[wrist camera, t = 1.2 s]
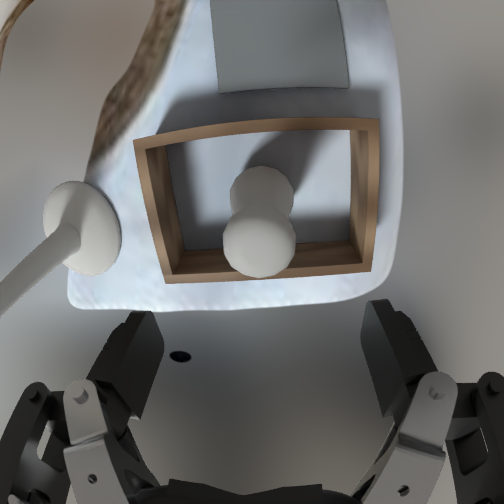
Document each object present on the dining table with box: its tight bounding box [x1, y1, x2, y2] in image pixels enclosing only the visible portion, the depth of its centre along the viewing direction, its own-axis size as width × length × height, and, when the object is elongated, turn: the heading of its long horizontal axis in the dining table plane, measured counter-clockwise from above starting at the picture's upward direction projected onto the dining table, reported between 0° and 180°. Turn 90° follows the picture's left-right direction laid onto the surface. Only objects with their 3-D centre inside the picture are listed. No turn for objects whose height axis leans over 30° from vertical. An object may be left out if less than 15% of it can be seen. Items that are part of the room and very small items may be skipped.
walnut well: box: [133, 117, 380, 284], centre depth 24 cm, size 14×20×5 cm
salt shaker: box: [223, 166, 296, 278], centre depth 21 cm, size 6×6×13 cm
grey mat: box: [210, 0, 349, 94], centre depth 19 cm, size 12×12×1 cm
